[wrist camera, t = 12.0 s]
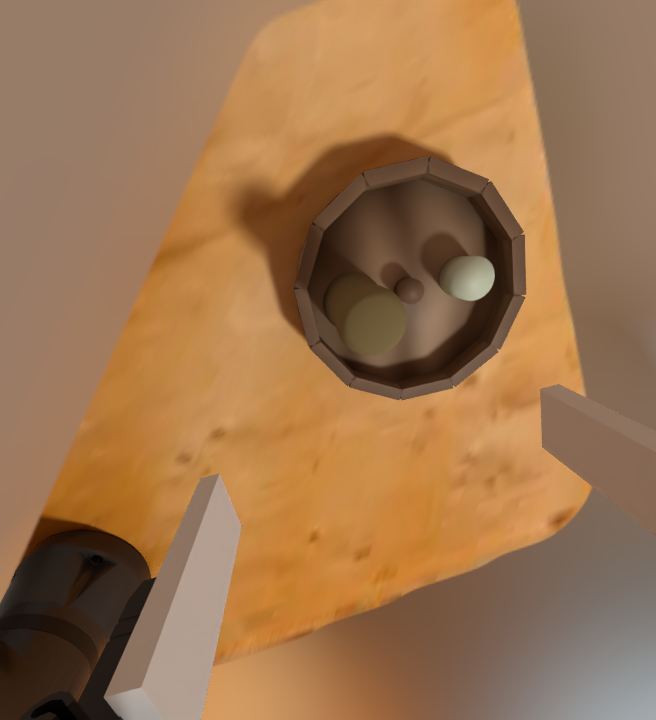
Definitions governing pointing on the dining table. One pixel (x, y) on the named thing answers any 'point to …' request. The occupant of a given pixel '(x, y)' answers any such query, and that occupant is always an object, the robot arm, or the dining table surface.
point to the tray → (414, 273)
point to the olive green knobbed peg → (364, 313)
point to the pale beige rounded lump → (467, 277)
